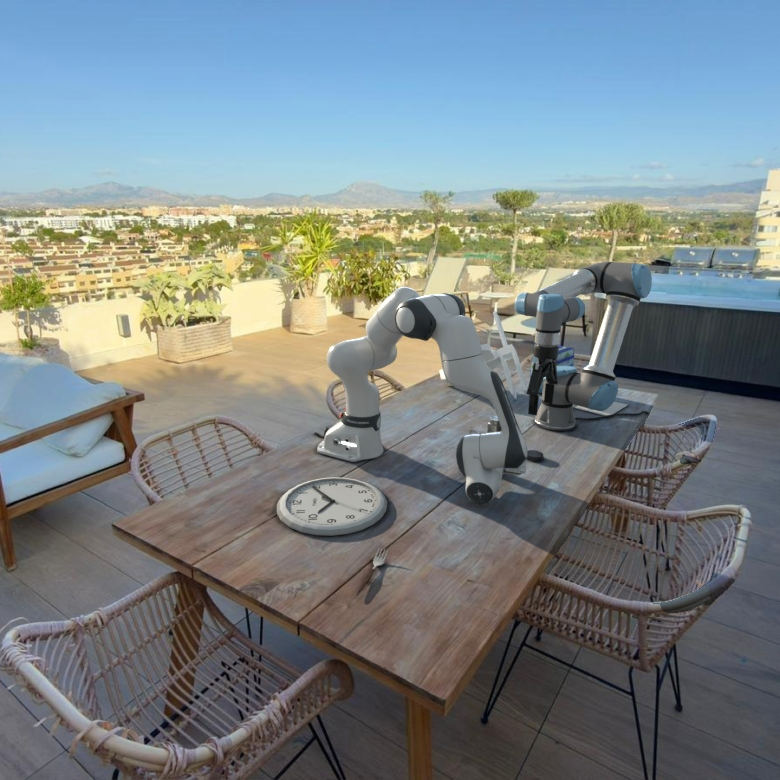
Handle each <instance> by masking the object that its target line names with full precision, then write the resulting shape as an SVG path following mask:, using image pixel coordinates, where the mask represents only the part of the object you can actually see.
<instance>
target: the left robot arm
mask: <svg viewBox="0 0 780 780" xmlns="http://www.w3.org/2000/svg"><path fill="white" fill-rule="evenodd" d="M365 333H366V335H364V336H362V337H359V338H353V339H346V340H342V341H340V342H338V343H336V344H333V345H331V346H330V347H329V348H328V349H327V353H326V364H327V367H328V369H329V370H330V371H331V372H332V373H333V374H334V375H336V376H337V377H338V378H339V379H340V381H341V384H342V385H343V389H344V393H345V394H344V395H345V408H344V409H343V411H341V412H340V414H339V417H338V419H340V421H338V422H337V423H334V424H331V425H327V426H326V427H325V429H324V432H323V435H321V434H320V433H318V432H314V435H315V436H317V437H318V438H321V439H323V440H322V441H321V442H320V443H319V444H318V445H317V449H316V451H317V453H318V454H321V455H325V456H328V457H333V458H336V459H339V460H343V461H347V462H351V463H357V462H360V461H363V460H371V459H375V458H379V457H380V456H382V455H383V453H384V452H385V450H384V446H383V442H382V438H381V436H382V435H381V426H382V425H381V424H382V417H381V410H380V389H379V388H378V386H377V385H375V384H374V383H373V382H370V381H369V376H368V373H369V372H372V371H377V370H379V369H383V368H386V367H387V366H390V365H391V364H393V363H394V362H395V361H396V359H397V356H398V348H397V344H398V342H399V341H400V340H401V339H402V338H403V336H404V337H406V338H410V339H414V340H415V339H416V340H421V341H424V342H427V341H429V340H430V339H432V340H434V341H435V342H436V344H437V346H438V349H439V350H438V351H439V356H440V361H441V367H442V369H443V372H444V375H445V378H446V380H447V381H448V382H449V383H450V386H452V387H453V388H455V389H457V390H460V391H463V392H465V393H466V392H467V393H470V394H475V395H479V396H482V397H484V398H486V399H488V400H489V401H490V403H491V404H492V406H493V409H494V411H495V414H496V416H497V417H498V420H499V422H500V425H501V428H502V431H500V432H492V433H487V432H483V433H482V432H479V433H472V434H471V433H470V434H464V435H463V436H462V437H461V438H460V440H459V442H458V444H457V446H456V450H455V457H456V465H457V468H458V469H457V470H458V474H459V475H461V476H462V477H465V494H466V497H467V498H468V499H469V500H470V501H471V502H473V503H476V504H479V505H481V504H483V505H484V504H489V503H490V502H491V501H493V500H494V499H495V497H496V496H497V494H498V492H499V489H500V487H501V481H502V479H503V475H510V476H521V475H523V474H526V472H527V468H526V467H527V452H528V445H527V442H526V439H525V437H524V436H523V434H522V431H521V429H520V427H519V424H518V422H517V419H516V416H515V412H514V410H513V407H512V403H511V402H510V398H509V396H508V393H507V391H506V388H505V385H504V383H503V380H502V378H501V376H500V375H499V374H498V373H497V372H495V371H494V370H493V371H491V370H490V369H489V368H488V366H487V365H486V363H485V361H484V358H483V354H482V349H481V345H482V344H481V340H480V337H479V334H478V330H477V328H476V325H475V323H474V321H473V319H471V318H470V317H468V316H466V306H465V304H464V302H463V300H462V299H461V298H460V297H459V296H457V295H455V294H453V293H447V292H445V293H444V292H443V293H434V294H426V295H422V296H421V295H420V294H419V293H418V292H417V291H416V290H415V289H413V288H411V287H408V286H400V287H398V288H396V289H395V290H393V292H391V293H390V294H389V295H388V296H387V297H386V298H385V299H384V300H383V301H381V303H380V305H379V306H378V307H377V308H376V310H375V311H374V312H373V314H372V315H371V316H370V317H369V318H368V320H367V321H366V323H365Z"/></svg>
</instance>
